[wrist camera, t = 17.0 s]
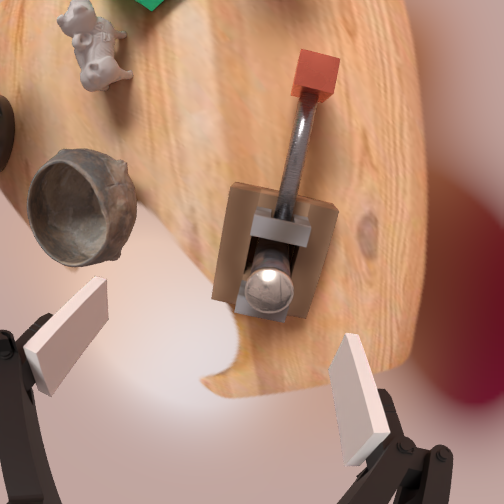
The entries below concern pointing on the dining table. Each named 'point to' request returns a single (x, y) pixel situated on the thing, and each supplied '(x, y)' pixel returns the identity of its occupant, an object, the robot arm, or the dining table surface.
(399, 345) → the dining table surface
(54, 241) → the bowl
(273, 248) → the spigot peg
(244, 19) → the dining table surface
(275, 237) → the dock block
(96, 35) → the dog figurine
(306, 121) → the pin
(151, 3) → the camera mount
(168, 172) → the dining table surface
